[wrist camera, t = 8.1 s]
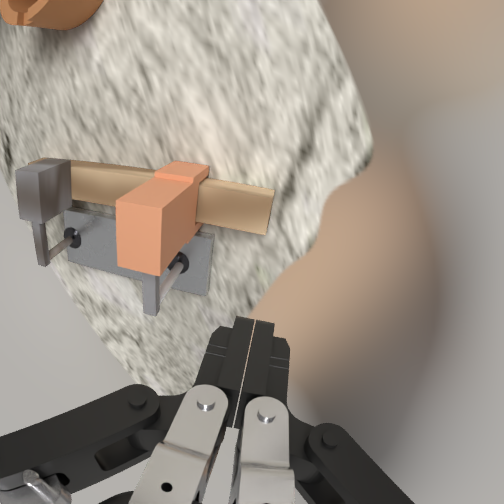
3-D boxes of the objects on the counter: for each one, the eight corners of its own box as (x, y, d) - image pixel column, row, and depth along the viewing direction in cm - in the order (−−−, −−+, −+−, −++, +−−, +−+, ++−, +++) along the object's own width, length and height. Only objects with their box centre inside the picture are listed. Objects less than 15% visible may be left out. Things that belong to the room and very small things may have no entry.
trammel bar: (43, 151, 27) (-4, 168, 21) (276, 181, 26) (268, 209, 20) (48, 230, 31) (8, 258, 25) (258, 277, 30) (246, 325, 24)
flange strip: (67, 206, 30) (61, 209, 29) (214, 234, 29) (211, 239, 28) (72, 256, 32) (66, 260, 31) (208, 290, 31) (205, 296, 30)
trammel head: (175, 160, 26) (115, 193, 17) (209, 165, 26) (162, 201, 17) (168, 259, 30) (122, 322, 22) (199, 266, 30) (160, 333, 21)
